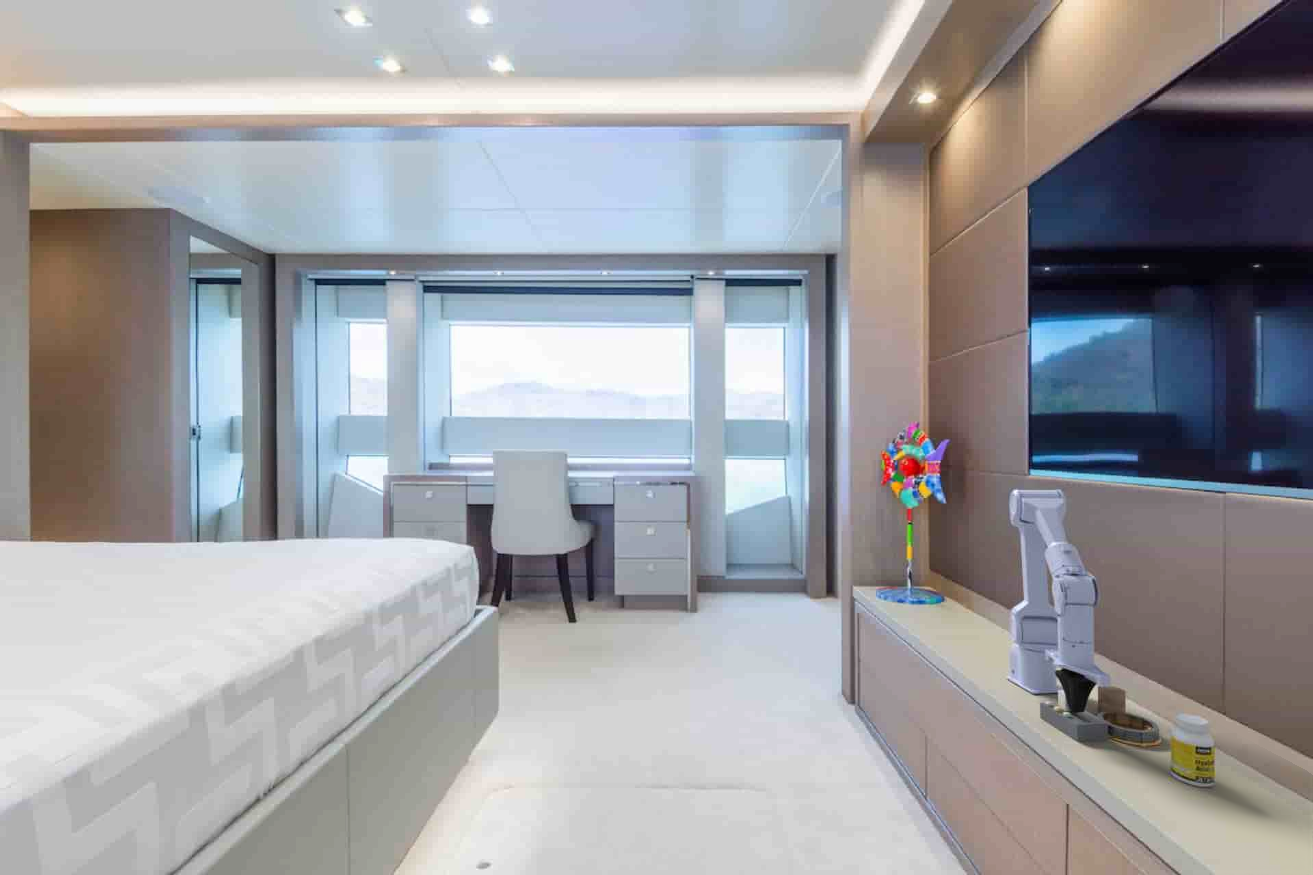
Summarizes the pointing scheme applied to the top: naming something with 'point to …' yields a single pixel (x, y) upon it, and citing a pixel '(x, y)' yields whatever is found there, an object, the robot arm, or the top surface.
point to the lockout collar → (1131, 728)
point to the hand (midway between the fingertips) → (1076, 710)
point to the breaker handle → (1062, 701)
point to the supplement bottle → (1192, 751)
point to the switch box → (1074, 722)
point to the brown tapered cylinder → (1111, 699)
